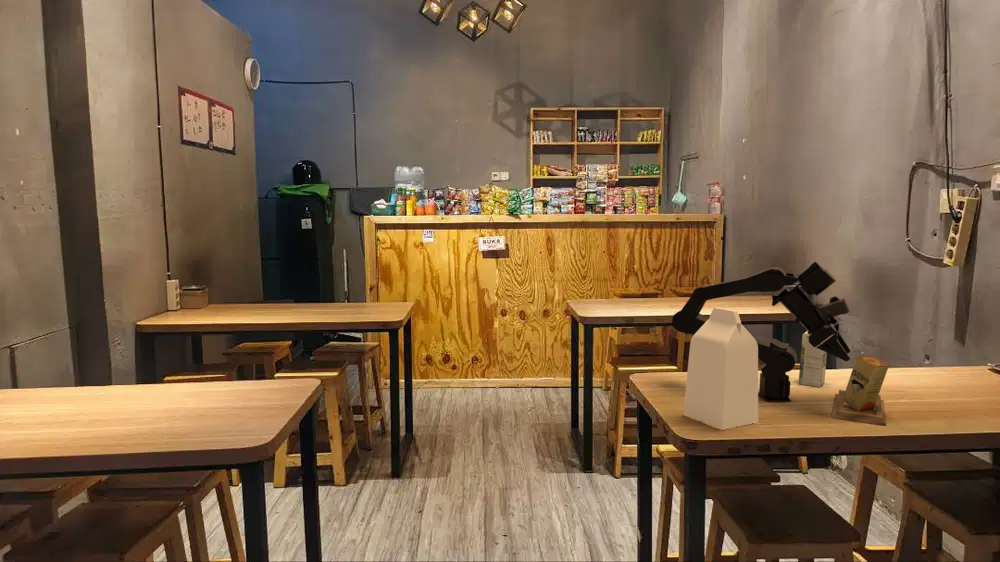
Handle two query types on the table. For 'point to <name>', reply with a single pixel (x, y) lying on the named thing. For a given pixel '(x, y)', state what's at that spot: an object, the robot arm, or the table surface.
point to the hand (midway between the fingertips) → (848, 356)
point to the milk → (723, 372)
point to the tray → (849, 413)
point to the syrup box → (811, 364)
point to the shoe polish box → (865, 383)
